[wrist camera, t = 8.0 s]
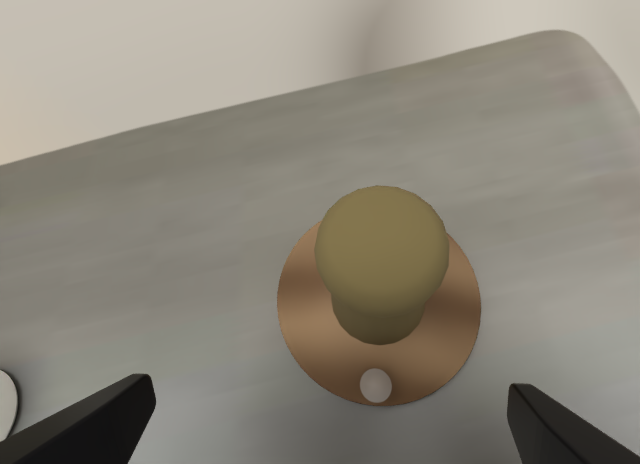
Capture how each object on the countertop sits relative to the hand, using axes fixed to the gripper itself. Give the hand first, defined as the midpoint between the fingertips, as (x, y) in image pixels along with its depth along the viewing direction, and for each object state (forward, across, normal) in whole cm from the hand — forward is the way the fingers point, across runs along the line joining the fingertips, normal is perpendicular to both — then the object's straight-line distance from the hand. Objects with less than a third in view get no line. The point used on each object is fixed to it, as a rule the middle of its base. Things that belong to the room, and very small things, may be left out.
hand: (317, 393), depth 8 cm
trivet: (+14, -2, +4) cm, 15 cm away
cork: (+14, -2, +4) cm, 14 cm away
